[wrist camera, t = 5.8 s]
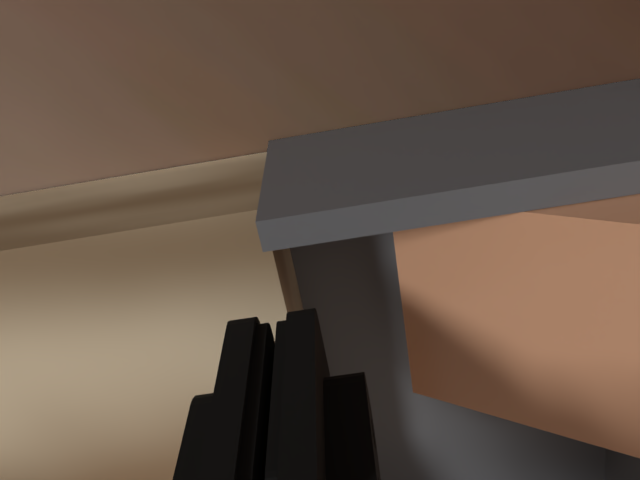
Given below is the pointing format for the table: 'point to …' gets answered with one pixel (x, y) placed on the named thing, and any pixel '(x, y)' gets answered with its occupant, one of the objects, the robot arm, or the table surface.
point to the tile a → (531, 317)
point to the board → (125, 313)
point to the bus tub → (429, 210)
